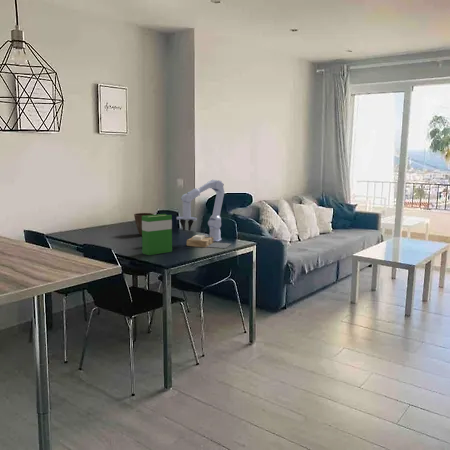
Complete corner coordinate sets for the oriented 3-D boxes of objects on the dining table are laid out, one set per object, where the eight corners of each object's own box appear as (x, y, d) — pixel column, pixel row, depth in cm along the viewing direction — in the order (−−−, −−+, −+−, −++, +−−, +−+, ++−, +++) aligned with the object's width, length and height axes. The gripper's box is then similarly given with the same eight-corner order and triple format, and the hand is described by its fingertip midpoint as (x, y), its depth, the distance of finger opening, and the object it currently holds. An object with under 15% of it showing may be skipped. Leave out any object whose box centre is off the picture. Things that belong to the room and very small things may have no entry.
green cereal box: (165, 249, 313) (165, 213, 309) (172, 251, 307) (171, 214, 304) (142, 253, 302) (141, 215, 298) (148, 255, 296) (147, 217, 292)
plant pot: (155, 235, 364) (155, 215, 361) (136, 236, 358) (136, 215, 356) (151, 232, 378) (151, 212, 375) (132, 233, 372) (132, 213, 370)
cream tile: (197, 237, 337) (197, 234, 336) (205, 237, 335) (205, 235, 335) (192, 239, 328) (192, 236, 328) (200, 240, 326) (200, 237, 326)
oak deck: (194, 241, 341) (194, 236, 341) (213, 242, 337) (213, 237, 337) (186, 245, 326) (186, 240, 326) (205, 247, 322) (205, 241, 322)
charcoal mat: (213, 243, 337) (213, 242, 337) (231, 244, 334) (231, 243, 334) (206, 247, 322) (206, 246, 322) (224, 248, 318) (224, 247, 318)
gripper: (174, 211, 329) (175, 230, 332) (194, 212, 325) (194, 231, 327) (178, 210, 336) (178, 229, 338) (198, 211, 332) (198, 230, 334)
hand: (186, 230), depth 333 cm, fingers open, 3 cm apart
